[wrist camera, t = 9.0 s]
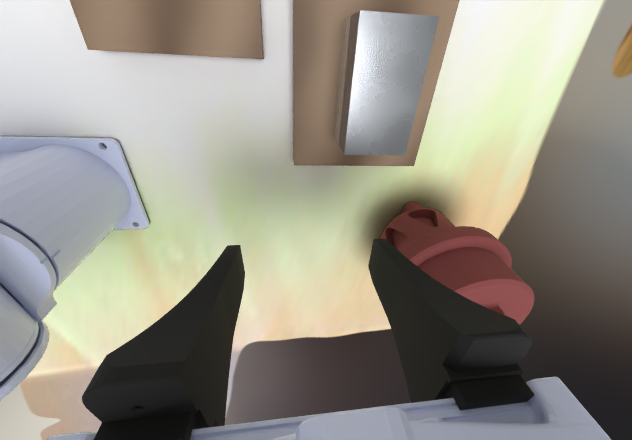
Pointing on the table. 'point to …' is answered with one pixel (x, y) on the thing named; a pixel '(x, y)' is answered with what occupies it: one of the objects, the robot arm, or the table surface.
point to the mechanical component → (461, 259)
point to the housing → (381, 80)
